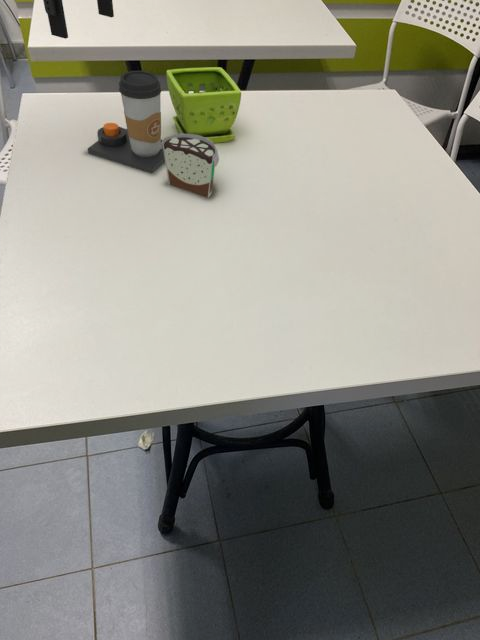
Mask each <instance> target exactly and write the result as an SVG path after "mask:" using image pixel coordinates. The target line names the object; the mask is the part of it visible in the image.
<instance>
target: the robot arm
mask: <svg viewBox="0 0 480 640" xmlns="http://www.w3.org/2000/svg"><path fill="white" fill-rule="evenodd" d="M42 2H43V6H44V11H45V13H46V15H47V17H48V18H47V19H48V24H49V29H50V34H51V36H54V37H58V38H62V39H64V40H65V39H68V38H69V32H68V27H67V22H66V21H67V20H66V15H65V9H64V4H63V3H64V2H63V0H42ZM96 3H97V13H98V15H100V16H104V17H109V18H114V17H115V13H114V4H113V0H96Z"/></svg>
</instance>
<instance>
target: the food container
mask: <svg viewBox="0 0 480 640" xmlns="http://www.w3.org/2000/svg"><path fill="white" fill-rule="evenodd" d="M161 140H162V142H161V149H162V148H163V150H164V157H165V163H164V164H165V169H166V175H167V181H168V185H169V186H173V187H176V188H179V189H181V190H185V191H187V192H190V193H193V194H195V195H199V196H200V197H201V196H202V197H204V198H207V199H210V198H211V196H212V194H213V186H214V177H215V169H216V167H218V164H219V162H220V156H219V152H218V148H217V146H216V145H215V144H216V143H213V142H212V141H210V140H209V139H207V138H205V137H202V136H199V135H194V134H181V133H176V134H171V135H168V136H166V137H164V138H161Z"/></svg>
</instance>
